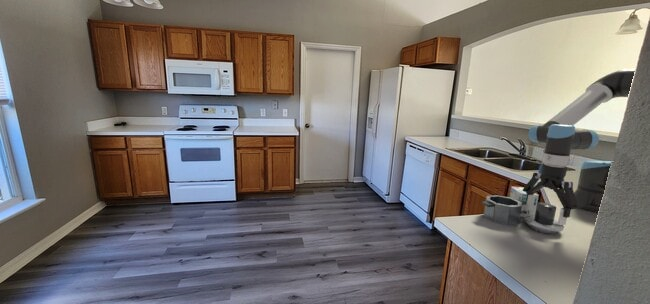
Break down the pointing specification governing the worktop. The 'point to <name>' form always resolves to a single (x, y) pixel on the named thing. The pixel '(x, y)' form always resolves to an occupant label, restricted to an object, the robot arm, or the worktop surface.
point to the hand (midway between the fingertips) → (544, 216)
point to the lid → (544, 219)
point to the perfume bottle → (540, 169)
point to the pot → (502, 209)
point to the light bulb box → (523, 200)
